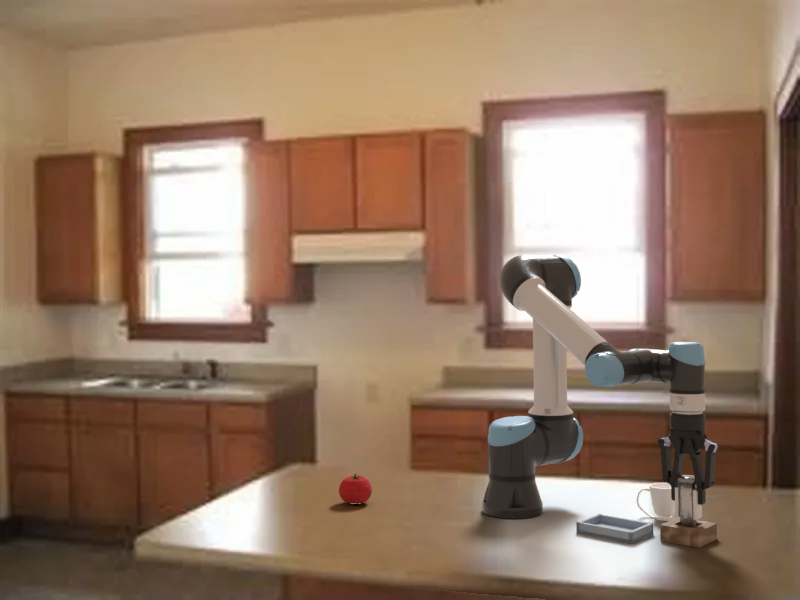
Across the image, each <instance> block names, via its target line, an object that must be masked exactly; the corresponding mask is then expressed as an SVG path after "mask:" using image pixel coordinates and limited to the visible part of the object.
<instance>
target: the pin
mask: <svg viewBox="0 0 800 600" xmlns="http://www.w3.org/2000/svg"><path fill="white" fill-rule="evenodd" d="M677 482H679V493H680V526H685V527H691V528H695V527H697V520H693V490H695V488H696V482H695V477H694V474H681V475H680V476H677Z"/></svg>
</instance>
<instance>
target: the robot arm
mask: <svg viewBox="0 0 800 600" xmlns="http://www.w3.org/2000/svg"><path fill="white" fill-rule="evenodd" d="M498 280H499V287H500V290H501V292H502V294H503V296H504V298H505V299H506V300H507V302H509V303H510V304H511V306H512V307H513V308H514V309H516V310H517V311H521V312H526V313H527V314H528V315H529V317H531V318H532V345H533V346H532V349H533V350H532V351H533V353H532V355H533V356H532V357H533V359H532V361H533V363H532V364H533V405H532V407H531V408H530V409H528V413H527V415H514V416H505V417H501V418H498V419H495V420H493V421H492V422H491V423H490V424H489V427H488V435H487V443H488V445H487V446H488V447H487V449H488V483H487V486H486V490H485V493H484V496H483V499H482V503H481V505H482V513H483V514H485V515H487V516H490V517H493V518H499V519H500V518H501V519H512V520H513V519H528V518H533V517H537V516H540V515H541V514H543V513H544V511H543V509H544V507H543V506H544V505H543V504H544V503H543V501H542V497H541V495H540V490H539V488H538V486H537V481H536V467H540V466H546V465H551V464H552V465H553V464H561V463H564V462H567V461H570V460H572V459H574V458H575V457H577V455H578V454H579V452H580V451H581V450H582V446H583V442H584V431H583V429H582V426H581V425H580V422H579V421H578V419H577V418H575V417H574V410H572V409H571V408H570V407H569V405H568V372H567V371H568V366H567V365H568V364H567V362H568V361H567V360H568V359H567V357H568V356H567V353H568V352H569V353H570V354H572V355H573V356H574V357H575V358H576V359H577V360H578V361H579V362H580V363H581V364H582V365H583V366H584V373H585V376H586V377H587V380H588V382H589V383H591V385H593V386H596V387H599V388H601V387H602V388H613V387H620V386H624V385H625V386H626V385H635V384H643V383H644V384H645V383H660V384H662V383H663V384H669V409H670V410H671V411H672V412H670V413H669V429H670V430H669V433H668V436H666V437H661V438H658V439H657V444H658V446H659V449H660V458H661V459H660V460H661V461H660V462H661V473H662V474H661V476H662V483H668V484H670V485H671V498H672V500H674V501H675V513H674V517H675V518H677V517H680V493H679V482H677V476H680V475H683V473H682V472H683V468H684V462H685V461H684V460H685V457H686V454H687V455H689V459H690V460H691V465H692V470H693V476H694V477H695V482H696V488H695V490H693V520H700V519H702V518H703V505H705V504H706V502H707V501H706V499H707V498H706V497H707V496H706V490H707V489H710V488H712V487H714V486H715V476H716V460H717V459H716V458H717V457H716V454H717V451H718V450H719V447H720V445H719V443H718V442H712V441H711V440H708V437H707V435H706V414H705V413H704V411H706V393H705V391H706V390H705V376H706V375H705V374H706V369H705V368H706V360H705V347H704V345H703V344H702V343H701V342H697V341H673V342H671V343H669V345H668V349H656V348H655V349H653V348H652V349H651V348H647V347H646V348H645V347H643V348H642V347H641V348H640V347H639V348H632V349H629V350H624V351H621V350H618V349H616V347H614V345H612V344H611V343H609V342H608V341H607V340H606V339H605V338H604V337H602V335H600V334H599V333H598V332H597V331H596V330H594V329H593V328H592V327H591V326H590V325H589V324H588V323H587V322H585V320H583V319H582V317H580V316H579V315H577V314H576V312H574V311H573V310H571V308H572V307H573V298H575V297H576V296H577V295H578V292H579V291H580V290H581V285H582V278H581V274H580V271H579V268H578V266H577V264H576V263H574V261H573V260H572V259H571V258H569V257H567V256H564V255H559V254H558V255H557V254H519V255H516V256H513V257H511V258H510V259H509V260H508V261H507V262H506V263H505V264H504V265H503V266H502V268H501V271H500V274H499V279H498ZM567 351H568V352H567ZM671 446H673V448H674V452H673V453H674V454H673V457H674V458H673V462H672V453H671V452H672V451H671ZM704 447H705V449H704V450H705V451H706V454H705V460H704V461H705V464H704V465H703V460H702V456H703V454H702V449H703V448H704Z"/></svg>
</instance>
